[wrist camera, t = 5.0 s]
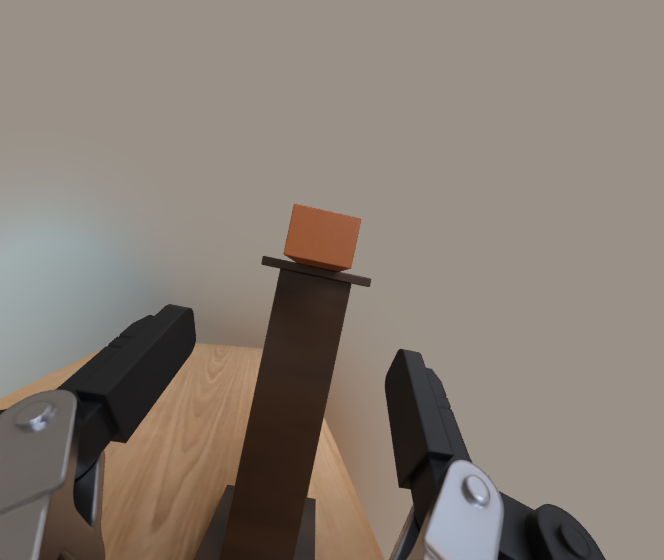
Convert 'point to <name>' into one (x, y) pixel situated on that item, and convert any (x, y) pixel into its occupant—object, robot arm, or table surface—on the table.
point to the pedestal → (284, 422)
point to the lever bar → (322, 238)
